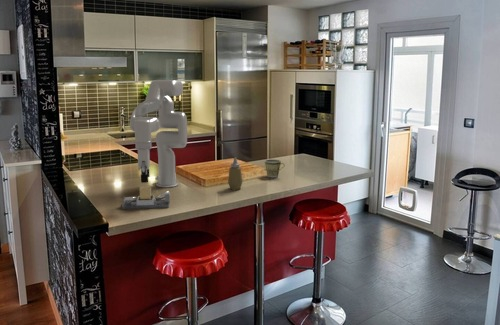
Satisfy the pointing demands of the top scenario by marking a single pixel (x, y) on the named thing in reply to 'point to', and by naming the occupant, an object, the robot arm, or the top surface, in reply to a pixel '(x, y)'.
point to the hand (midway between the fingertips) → (145, 179)
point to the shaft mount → (147, 202)
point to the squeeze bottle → (235, 176)
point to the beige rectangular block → (145, 193)
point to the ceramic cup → (273, 167)
